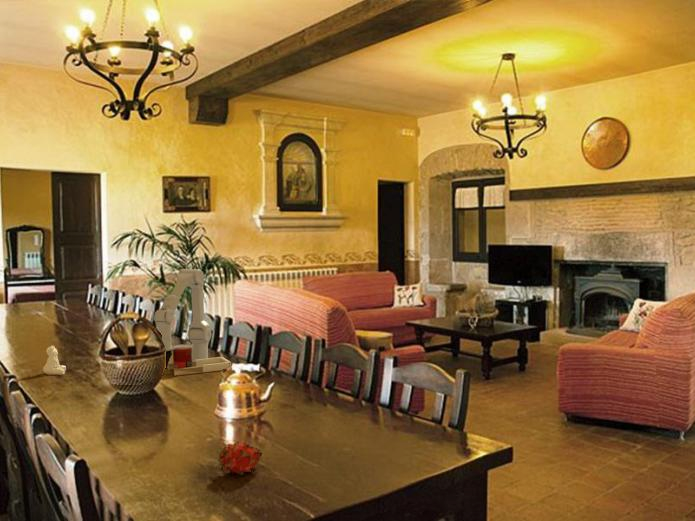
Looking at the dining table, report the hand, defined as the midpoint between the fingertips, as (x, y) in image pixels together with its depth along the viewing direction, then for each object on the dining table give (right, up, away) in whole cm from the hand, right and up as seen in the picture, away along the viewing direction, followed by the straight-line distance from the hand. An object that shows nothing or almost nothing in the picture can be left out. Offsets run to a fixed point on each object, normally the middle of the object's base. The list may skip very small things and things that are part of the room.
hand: (165, 368), depth 256 cm
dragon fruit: (+51, -7, -104) cm, 116 cm away
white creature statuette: (-48, -2, +1) cm, 48 cm away
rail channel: (+7, -2, +4) cm, 9 cm away
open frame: (+18, -1, +10) cm, 21 cm away
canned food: (+7, -2, +4) cm, 8 cm away
